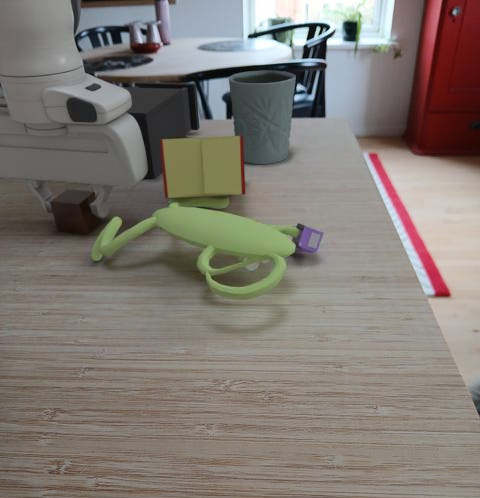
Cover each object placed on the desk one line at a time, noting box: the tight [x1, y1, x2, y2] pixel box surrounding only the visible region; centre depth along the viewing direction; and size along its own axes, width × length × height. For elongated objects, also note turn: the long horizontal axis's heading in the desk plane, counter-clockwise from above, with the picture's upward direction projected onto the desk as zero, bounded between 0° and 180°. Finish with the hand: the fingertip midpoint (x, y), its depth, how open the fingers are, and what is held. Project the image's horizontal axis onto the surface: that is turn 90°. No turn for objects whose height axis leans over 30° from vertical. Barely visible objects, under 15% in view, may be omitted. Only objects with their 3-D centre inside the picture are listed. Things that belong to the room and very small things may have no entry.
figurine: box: [90, 195, 324, 301], centre depth 56 cm, size 18×27×6 cm
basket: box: [132, 81, 200, 136], centre depth 91 cm, size 18×11×8 cm, turn 165°
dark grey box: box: [120, 86, 188, 180], centre depth 82 cm, size 15×13×10 cm
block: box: [50, 188, 102, 235], centre depth 65 cm, size 4×4×4 cm
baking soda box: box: [160, 135, 246, 199], centre depth 67 cm, size 10×6×16 cm
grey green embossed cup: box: [228, 69, 297, 165], centre depth 81 cm, size 10×10×12 cm
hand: (76, 213), depth 65 cm, fingers open, 5 cm apart
